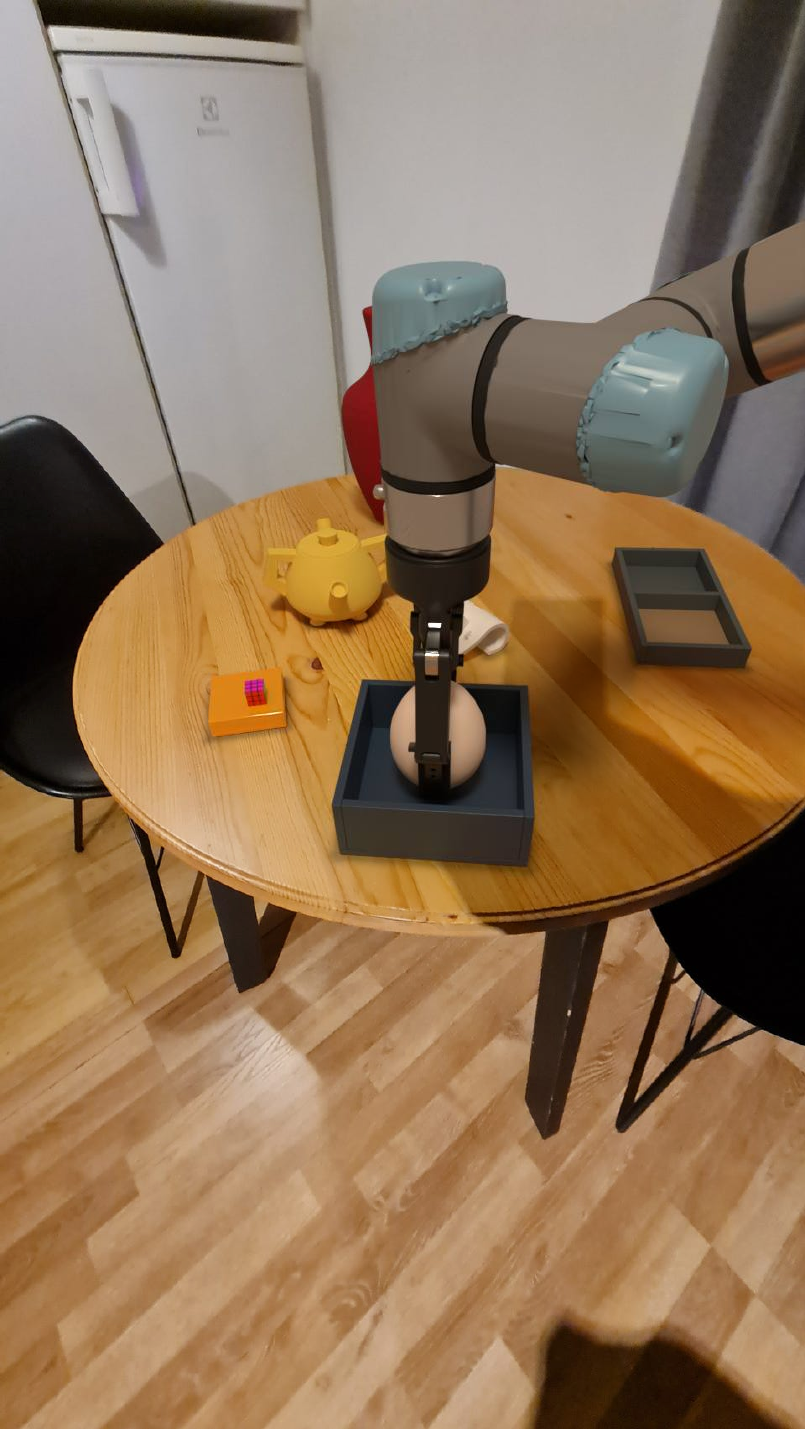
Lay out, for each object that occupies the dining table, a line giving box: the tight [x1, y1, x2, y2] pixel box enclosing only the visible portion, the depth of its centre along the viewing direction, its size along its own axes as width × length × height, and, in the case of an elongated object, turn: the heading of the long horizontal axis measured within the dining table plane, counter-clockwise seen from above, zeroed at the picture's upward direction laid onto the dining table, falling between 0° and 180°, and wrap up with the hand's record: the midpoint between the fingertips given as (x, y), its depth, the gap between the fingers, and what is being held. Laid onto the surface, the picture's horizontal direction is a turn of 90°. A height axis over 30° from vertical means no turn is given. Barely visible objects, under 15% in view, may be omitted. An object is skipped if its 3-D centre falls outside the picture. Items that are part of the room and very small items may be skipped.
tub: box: [330, 678, 536, 868], centre depth 62 cm, size 17×17×7 cm
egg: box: [390, 681, 486, 789], centre depth 59 cm, size 9×9×11 cm
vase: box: [340, 305, 385, 526], centre depth 98 cm, size 15×15×30 cm
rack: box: [611, 546, 753, 669], centre depth 84 cm, size 12×23×3 cm, turn 174°
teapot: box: [262, 517, 387, 627], centre depth 85 cm, size 20×18×11 cm
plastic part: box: [459, 599, 510, 656], centre depth 77 cm, size 8×10×12 cm
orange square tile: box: [207, 667, 288, 738], centre depth 72 cm, size 8×8×4 cm
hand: (438, 757), depth 61 cm, fingers closed on egg, 9 cm apart
